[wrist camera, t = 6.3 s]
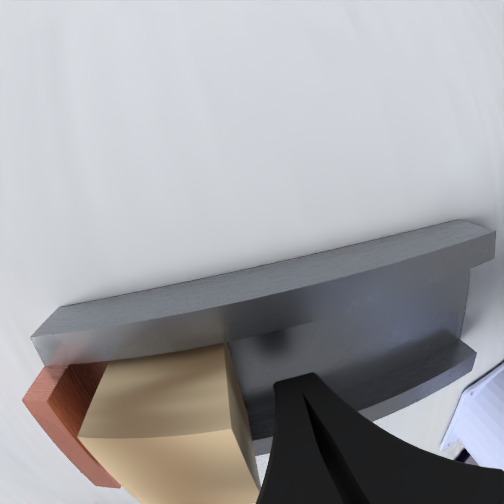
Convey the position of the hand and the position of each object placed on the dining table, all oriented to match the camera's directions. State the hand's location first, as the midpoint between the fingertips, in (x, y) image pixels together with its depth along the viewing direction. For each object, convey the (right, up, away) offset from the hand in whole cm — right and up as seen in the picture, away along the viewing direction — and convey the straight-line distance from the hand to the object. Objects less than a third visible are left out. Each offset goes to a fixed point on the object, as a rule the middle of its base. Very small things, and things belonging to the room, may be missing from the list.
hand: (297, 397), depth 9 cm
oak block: (-4, 0, +1) cm, 4 cm away
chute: (0, +1, +3) cm, 3 cm away
